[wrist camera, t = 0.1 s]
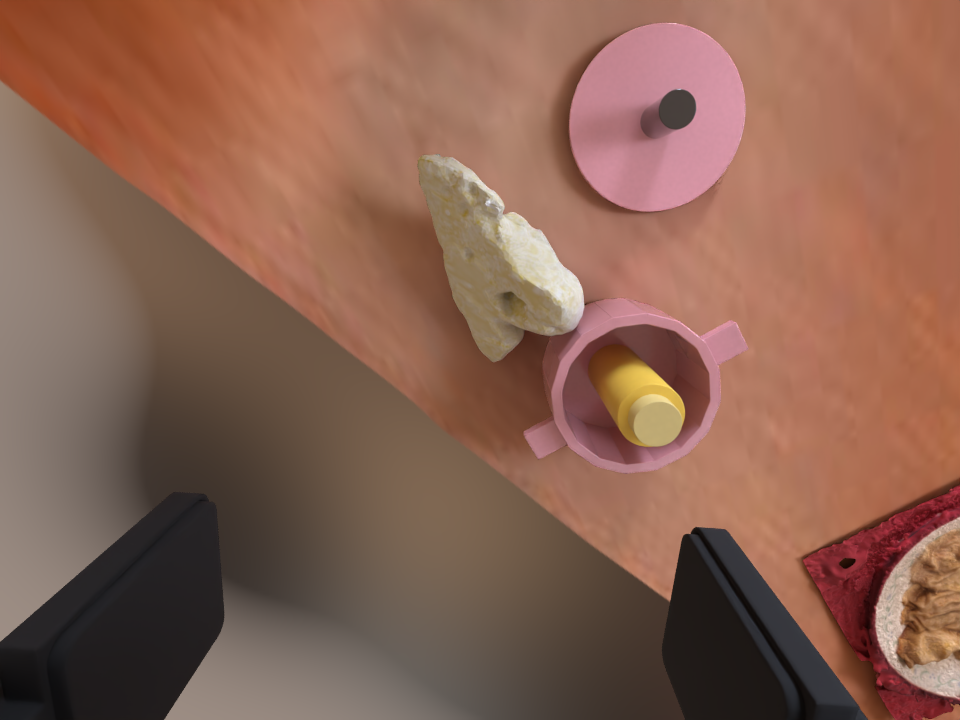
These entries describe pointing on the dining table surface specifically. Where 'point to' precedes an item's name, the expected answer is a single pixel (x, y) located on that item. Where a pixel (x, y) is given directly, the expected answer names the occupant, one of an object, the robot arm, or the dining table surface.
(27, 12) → the dining table surface
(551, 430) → the pot
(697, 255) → the dining table surface
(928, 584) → the plate with food
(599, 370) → the yellow stepped cylinder
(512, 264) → the cheese
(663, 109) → the lid
